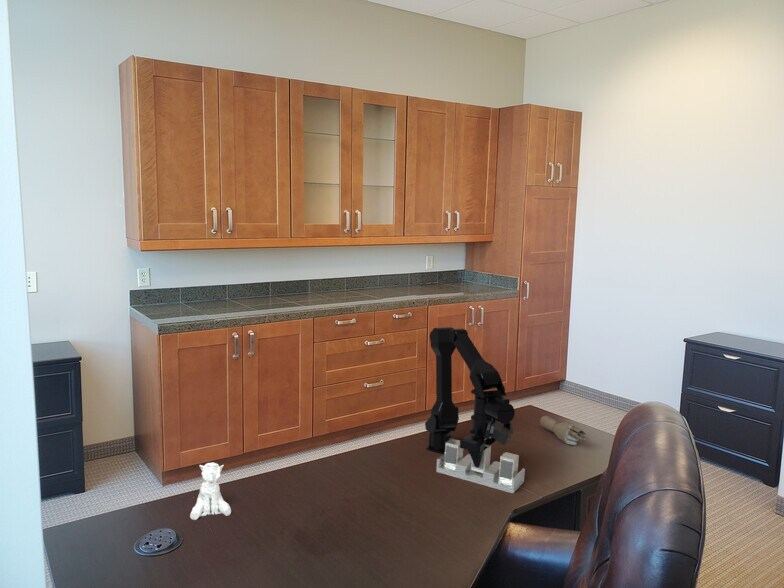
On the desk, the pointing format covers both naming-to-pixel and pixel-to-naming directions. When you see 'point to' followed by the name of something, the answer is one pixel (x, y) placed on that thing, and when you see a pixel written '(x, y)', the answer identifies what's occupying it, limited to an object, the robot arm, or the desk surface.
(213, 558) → the desk surface
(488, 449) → the white rectangular block
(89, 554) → the desk surface
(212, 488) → the seated beast figurine
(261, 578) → the desk surface
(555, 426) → the mannequin hand
